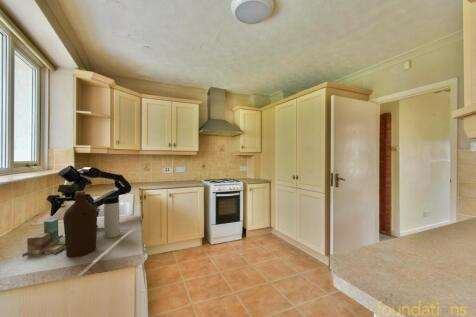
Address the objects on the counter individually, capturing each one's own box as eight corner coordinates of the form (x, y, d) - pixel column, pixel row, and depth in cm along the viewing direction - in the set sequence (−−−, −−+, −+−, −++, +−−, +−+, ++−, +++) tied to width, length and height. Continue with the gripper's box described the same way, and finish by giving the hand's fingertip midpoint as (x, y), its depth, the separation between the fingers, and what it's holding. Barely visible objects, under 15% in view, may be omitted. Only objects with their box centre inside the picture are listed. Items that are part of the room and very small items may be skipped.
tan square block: (73, 242, 88) (73, 239, 88) (66, 246, 84) (66, 243, 84) (63, 243, 88) (63, 239, 88) (55, 247, 84) (55, 243, 84)
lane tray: (88, 237, 97) (88, 233, 97) (55, 256, 78) (55, 252, 78) (61, 238, 96) (61, 234, 96) (22, 258, 77) (22, 253, 77)
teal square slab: (59, 242, 89) (59, 219, 88) (38, 253, 79) (37, 227, 78) (49, 243, 88) (49, 219, 88) (27, 254, 78) (26, 227, 78)
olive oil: (104, 248, 84) (103, 189, 84) (80, 262, 74) (79, 194, 74) (82, 247, 86) (81, 188, 86) (56, 259, 76) (54, 193, 75)
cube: (50, 244, 84) (50, 232, 84) (42, 249, 79) (41, 237, 79) (36, 245, 83) (36, 233, 83) (27, 250, 78) (27, 238, 78)
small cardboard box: (62, 248, 83) (62, 245, 83) (56, 252, 79) (56, 249, 79) (51, 249, 82) (51, 245, 82) (44, 253, 79) (44, 249, 79)
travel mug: (123, 235, 98) (122, 194, 98) (109, 240, 92) (108, 197, 92) (115, 233, 101) (114, 193, 101) (101, 238, 95) (100, 196, 95)
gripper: (48, 178, 97) (27, 207, 86) (89, 177, 98) (73, 205, 88) (62, 191, 105) (44, 219, 94) (99, 190, 106) (86, 217, 96)
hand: (61, 215), depth 93 cm, fingers open, 9 cm apart
